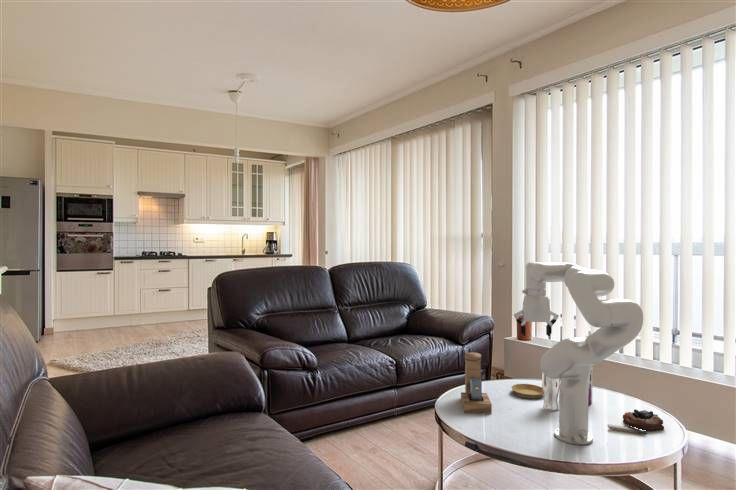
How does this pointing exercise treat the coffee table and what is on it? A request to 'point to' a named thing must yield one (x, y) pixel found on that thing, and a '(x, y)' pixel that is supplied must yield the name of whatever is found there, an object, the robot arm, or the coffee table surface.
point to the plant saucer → (527, 390)
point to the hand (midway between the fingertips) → (535, 335)
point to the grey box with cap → (475, 389)
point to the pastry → (643, 420)
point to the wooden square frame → (470, 371)
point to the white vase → (550, 392)
